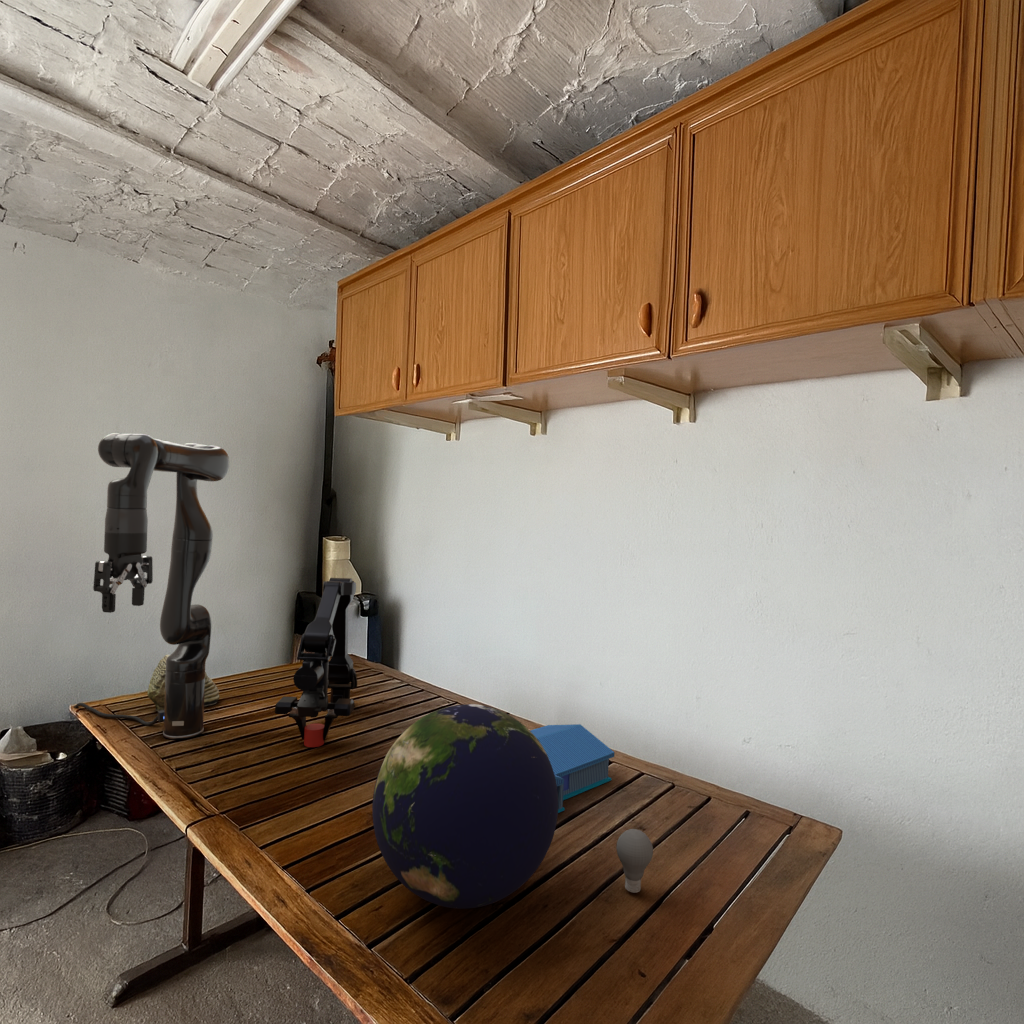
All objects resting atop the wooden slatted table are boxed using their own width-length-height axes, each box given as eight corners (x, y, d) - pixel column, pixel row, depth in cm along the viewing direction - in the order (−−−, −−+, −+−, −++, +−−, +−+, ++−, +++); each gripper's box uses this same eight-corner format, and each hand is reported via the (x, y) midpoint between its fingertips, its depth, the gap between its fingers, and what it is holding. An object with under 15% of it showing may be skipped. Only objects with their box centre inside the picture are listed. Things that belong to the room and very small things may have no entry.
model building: (493, 841, 119) (496, 788, 119) (420, 792, 137) (422, 747, 137) (623, 784, 145) (625, 741, 145) (547, 750, 164) (548, 712, 163)
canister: (299, 744, 161) (300, 727, 161) (313, 738, 165) (314, 722, 165) (314, 748, 158) (315, 731, 158) (328, 742, 163) (328, 725, 163)
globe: (328, 919, 95) (336, 721, 95) (427, 827, 123) (434, 674, 122) (512, 985, 84) (522, 760, 83) (576, 867, 112) (584, 698, 111)
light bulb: (610, 879, 108) (613, 822, 108) (644, 879, 109) (647, 822, 109) (619, 902, 102) (622, 840, 102) (655, 901, 103) (658, 840, 103)
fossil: (144, 707, 182) (145, 655, 182) (212, 696, 194) (213, 647, 194) (151, 716, 175) (153, 662, 175) (221, 703, 188) (223, 653, 188)
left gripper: (118, 532, 123) (116, 616, 123) (165, 529, 137) (162, 604, 137) (82, 531, 124) (80, 613, 124) (132, 528, 138) (130, 602, 138)
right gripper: (268, 687, 153) (266, 751, 153) (346, 689, 154) (343, 753, 154) (283, 674, 164) (281, 733, 165) (355, 676, 165) (353, 736, 165)
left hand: (123, 608), depth 131 cm, fingers open, 8 cm apart
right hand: (314, 739), depth 162 cm, fingers closed on canister, 5 cm apart
